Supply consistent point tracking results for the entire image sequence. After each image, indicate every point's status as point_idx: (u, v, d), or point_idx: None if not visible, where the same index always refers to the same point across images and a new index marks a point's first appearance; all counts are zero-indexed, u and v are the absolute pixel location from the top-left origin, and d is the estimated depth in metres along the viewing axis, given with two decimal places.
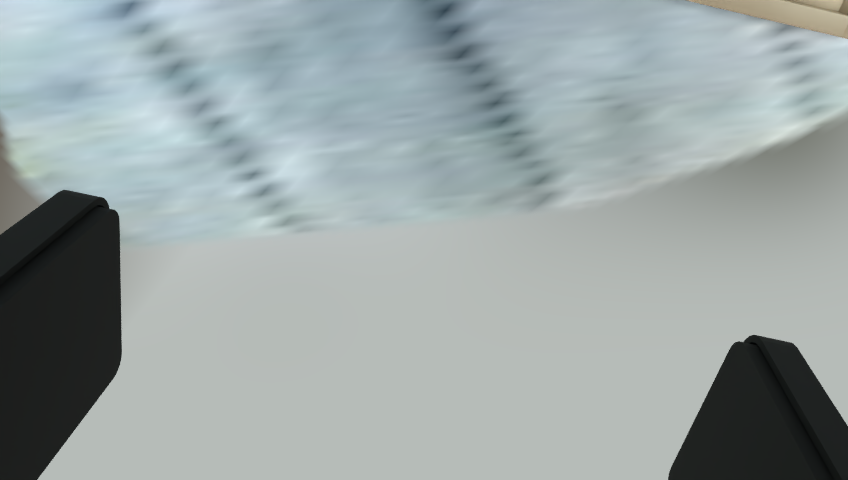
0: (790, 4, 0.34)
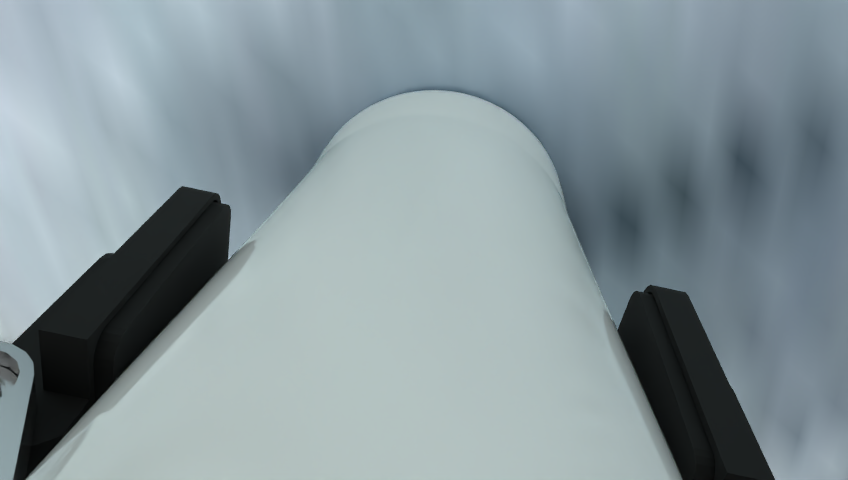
0: None
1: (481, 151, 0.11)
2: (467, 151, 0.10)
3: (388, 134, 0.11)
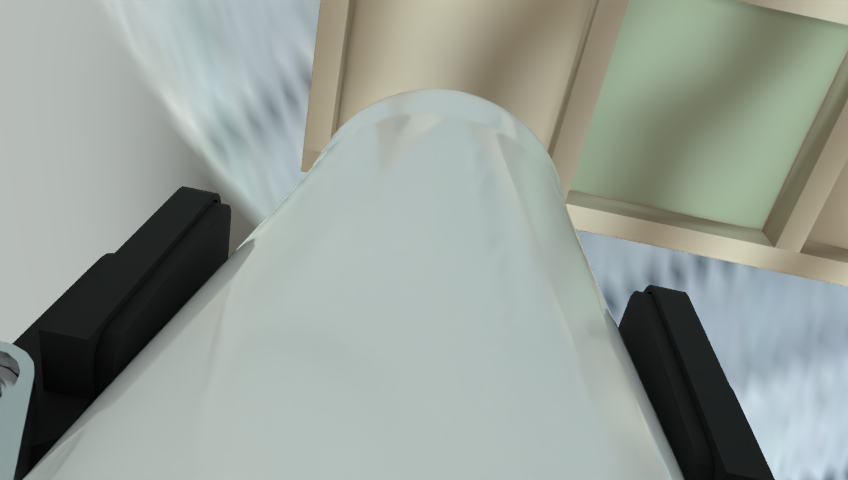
0: (335, 77, 0.26)
1: (481, 150, 0.11)
2: (468, 150, 0.10)
3: (388, 133, 0.11)
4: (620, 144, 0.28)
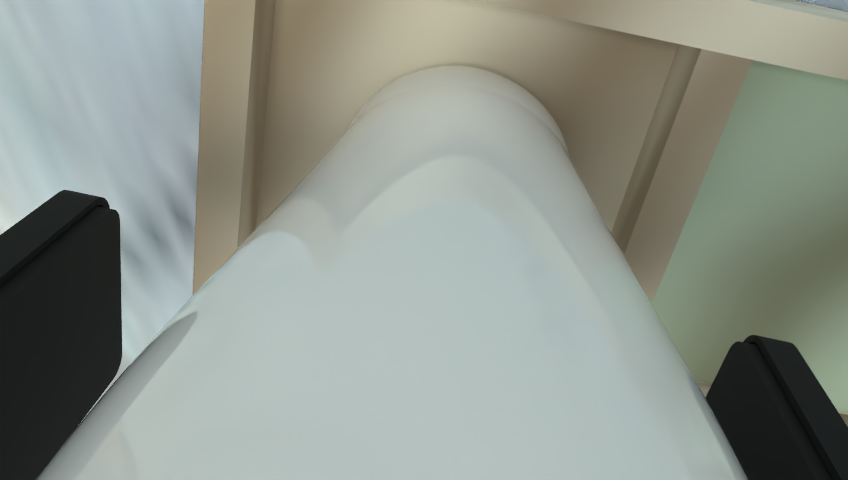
0: (235, 211, 0.16)
1: (502, 113, 0.12)
2: (491, 112, 0.12)
3: (417, 99, 0.12)
4: (700, 304, 0.18)
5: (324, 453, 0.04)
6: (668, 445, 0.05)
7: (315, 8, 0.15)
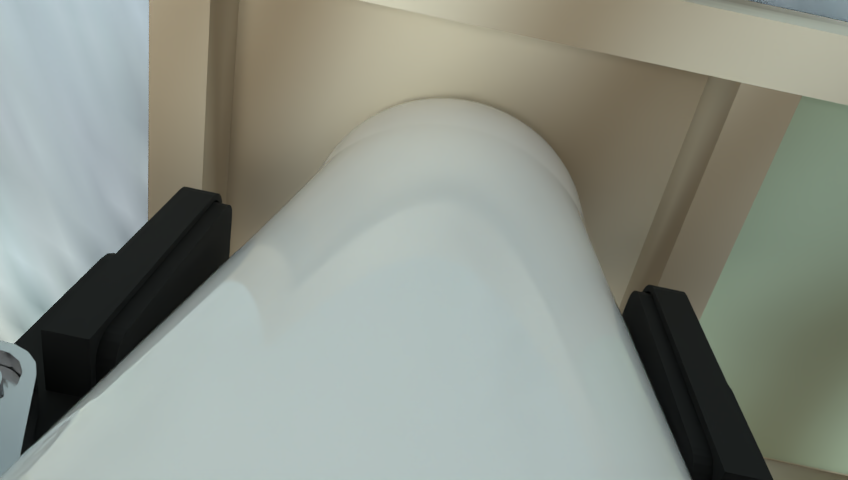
0: None
1: (496, 165, 0.10)
2: (481, 164, 0.09)
3: (394, 144, 0.10)
4: (729, 365, 0.15)
5: None
6: None
7: (284, 30, 0.13)
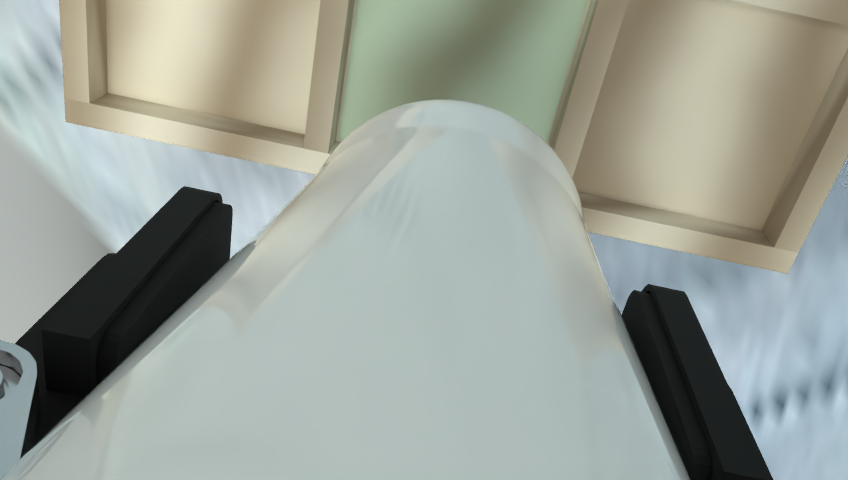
0: (83, 24, 0.26)
1: (496, 167, 0.10)
2: (481, 167, 0.09)
3: (394, 146, 0.10)
4: (385, 94, 0.28)
5: None
6: None
7: None
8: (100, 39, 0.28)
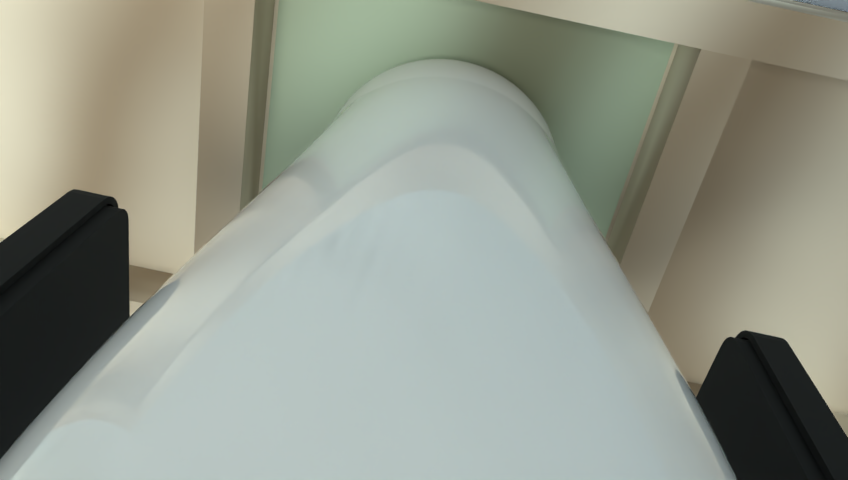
0: None
1: (489, 105, 0.12)
2: (477, 103, 0.11)
3: (403, 90, 0.12)
4: None
5: (292, 429, 0.04)
6: (650, 427, 0.04)
7: None
8: None
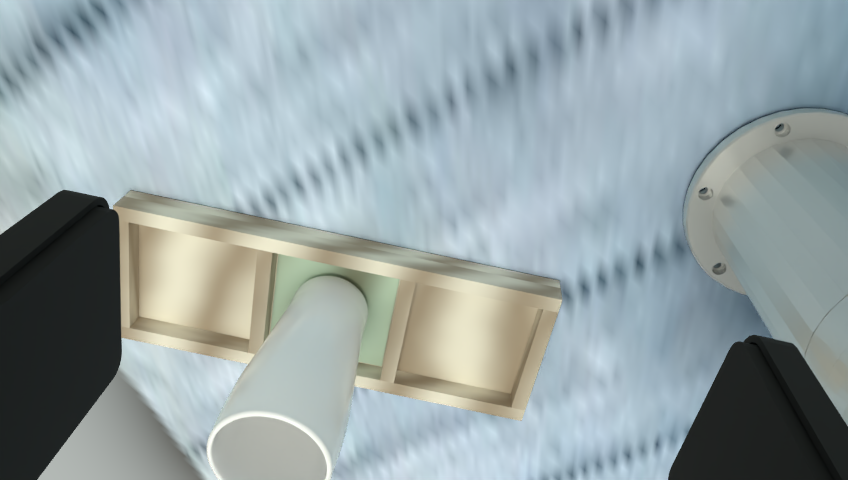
0: (127, 292, 0.49)
1: (330, 303, 0.44)
2: (326, 304, 0.44)
3: (309, 297, 0.45)
4: None
5: (270, 381, 0.36)
6: (314, 382, 0.37)
7: (151, 229, 0.48)
8: (135, 293, 0.50)
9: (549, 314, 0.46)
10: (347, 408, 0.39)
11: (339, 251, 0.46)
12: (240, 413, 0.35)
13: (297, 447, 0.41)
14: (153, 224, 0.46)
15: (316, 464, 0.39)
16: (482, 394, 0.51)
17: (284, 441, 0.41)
